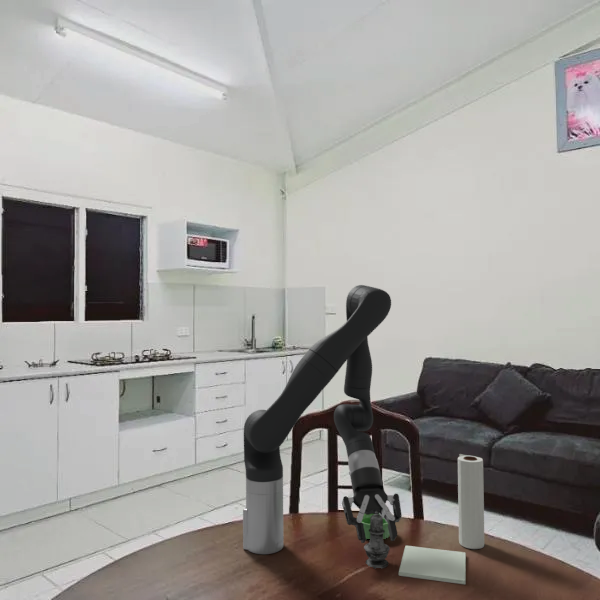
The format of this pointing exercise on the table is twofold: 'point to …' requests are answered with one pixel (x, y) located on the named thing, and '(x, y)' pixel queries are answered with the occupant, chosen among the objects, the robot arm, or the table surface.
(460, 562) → the sage tile
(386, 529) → the ramekin
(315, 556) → the table surface
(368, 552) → the salt shaker
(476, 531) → the paper towel roll
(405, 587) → the table surface
